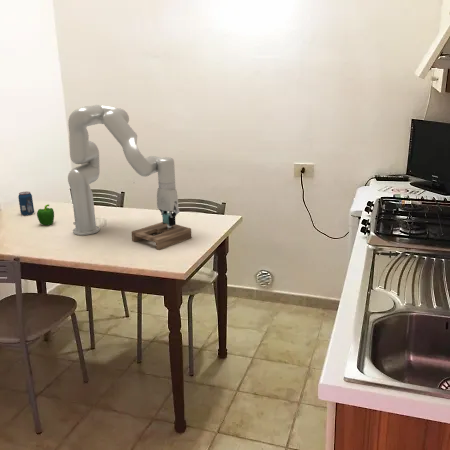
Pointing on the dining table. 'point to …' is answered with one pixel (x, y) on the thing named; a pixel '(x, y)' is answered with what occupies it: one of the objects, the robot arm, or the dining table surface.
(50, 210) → the bell pepper
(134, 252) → the dining table surface
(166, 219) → the headed peg
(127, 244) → the dining table surface
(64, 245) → the dining table surface
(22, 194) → the soda can
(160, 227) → the keyhole plate
